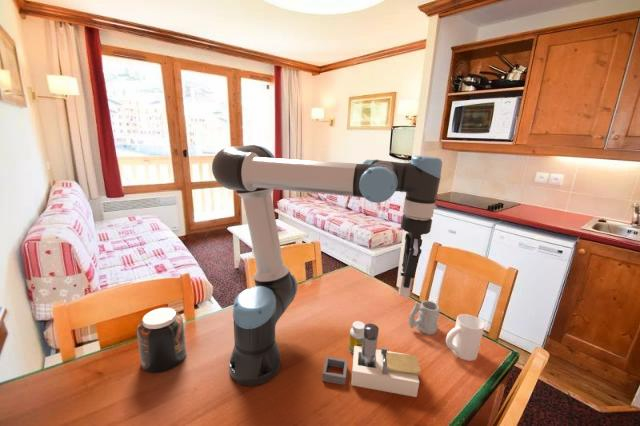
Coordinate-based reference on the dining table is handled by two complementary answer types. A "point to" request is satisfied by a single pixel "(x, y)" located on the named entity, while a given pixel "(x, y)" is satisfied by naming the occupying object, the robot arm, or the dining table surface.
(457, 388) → the dining table surface
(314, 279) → the dining table surface
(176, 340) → the jar
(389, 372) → the socket block
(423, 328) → the mug
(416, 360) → the brass flap
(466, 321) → the mug
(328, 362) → the stand collar
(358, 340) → the supplement bottle
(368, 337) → the steel pin
